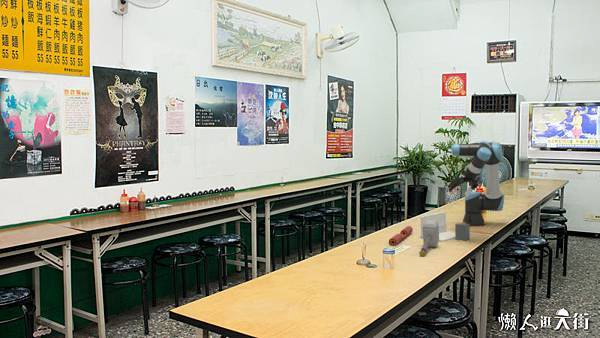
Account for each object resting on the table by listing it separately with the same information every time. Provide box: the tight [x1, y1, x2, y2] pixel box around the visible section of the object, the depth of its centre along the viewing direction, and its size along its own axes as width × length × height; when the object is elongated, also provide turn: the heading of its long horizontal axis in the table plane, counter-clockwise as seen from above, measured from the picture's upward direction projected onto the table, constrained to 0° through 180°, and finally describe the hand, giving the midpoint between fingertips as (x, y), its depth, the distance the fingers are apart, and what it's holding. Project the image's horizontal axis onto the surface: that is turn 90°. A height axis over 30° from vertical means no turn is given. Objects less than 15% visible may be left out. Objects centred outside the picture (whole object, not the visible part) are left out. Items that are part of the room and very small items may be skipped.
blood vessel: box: [388, 225, 414, 247], centre depth 333 cm, size 42×5×5 cm, turn 155°
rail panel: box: [420, 211, 455, 243], centre depth 336 cm, size 26×16×14 cm, turn 131°
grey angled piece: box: [418, 220, 440, 257], centre depth 299 cm, size 15×8×30 cm
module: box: [454, 221, 471, 242], centre depth 326 cm, size 5×7×11 cm
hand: (457, 195), depth 325 cm, fingers open, 13 cm apart
